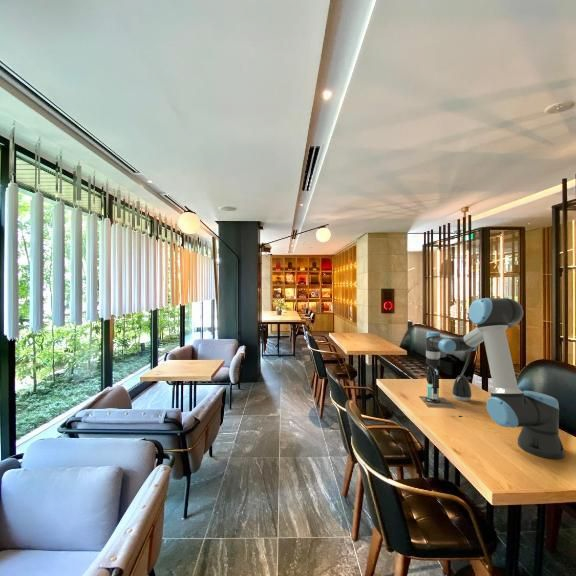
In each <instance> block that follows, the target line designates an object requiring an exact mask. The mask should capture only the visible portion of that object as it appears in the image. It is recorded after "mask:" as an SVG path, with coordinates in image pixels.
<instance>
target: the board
mask: <svg viewBox="0 0 576 576" xmlns="http://www.w3.org/2000/svg"><path fill="white" fill-rule="evenodd" d="M418 397H419V399H420V400H421V401H422V402H423V403H424V404H425V405H426V407H427V408H431V409H432V408H433V409H451V410H452V409H453V410H457V408H456V407H455V406H454V405H453V404H452V403H451V402H450V401H449V400H447V399H446V398H445V397H443V396H441V397H439V398H438V399H440V403H430V402H427V401H426V400H425V398H426V397H427V396H426V395H425V396H424V395H423V396H421V395H420V396H418Z"/></svg>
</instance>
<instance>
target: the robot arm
mask: <svg viewBox="0 0 576 576" xmlns="http://www.w3.org/2000/svg"><path fill="white" fill-rule="evenodd" d="M523 317H524V310H523V306H522V305H521V304H520V303H519V302H518V301H517V300H515V299H512V298H509V297H508V298H507V297H506V298H505V297H503V298H501V297H500V298H499V297H497V298H496V297H495V298H493V297H484V298H477V299H475V300H473V301H472V303H471V304H470V306H469V308H468V318H469V320H470V321H471V323H473V324H474V325H476V327H475V328H473V329H472V330H471V331H469V332H468V333H466V334H465V335H463V336H461V337H442V336H441V333H440V332H439V331H427V332H426V334H425V335H426V336H425V348H426V349H425V364H426V382H427V384H433V387H432V399H437V388H439V389H440V371H439V369H438V366H440V365H441V359H440V358H441V354H442V353H446V354H452V353H454V352H475V351H477V348H478V346H479V345H480V344H481V343H483V342H484V347H485V352H486V357H487V362H488V365H489V371H490V376H491V382H492V385H493V388H492V390H491V391H490V397H489V398H488V399H487V402H486V410H487V413H488V415H489V416H490V418H491V419H492V421H494V423H496V424H497V425H499V426H500V427H503V428H512V429H514V428H519V427H520V428H521V427H522V428H521V430H520V433H519V435H518V437H517V445H518V447H520V448H521V449H522V450H523V451H525V452H527V453H529V454H532V455H535V456H538V457H542V458H545V459H552V460H553V459H554V460H559V459H560V460H561V459H563V458H564V457H565V449H564V445H563V443H562V441H561V438H560V435H559V433H560V432H559V426H560V425H559V424H560V420H559V419H560V408H559V401H558V399H557V398H555V397H553V396H551V395H548V394H545V393H541V392H537V391H532V390H522V389H520V388H519V387H518V382H517V377H516V372H515V369H514V363H513V359H512V355H511V351H510V345H509V341H508V338H507V333H506V330H507V329H510V328H513V326H515V325H517V324H519V322H521V321H522V318H523ZM441 352H442V353H441Z"/></svg>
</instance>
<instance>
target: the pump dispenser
mask: <svg viewBox="0 0 576 576" xmlns="http://www.w3.org/2000/svg"><path fill="white" fill-rule="evenodd" d="M471 379H472V377H471V376H467V377H466V376H465V375H459V374H458V375H457V377H456V378H455V380H454V382H453V386H452V391H451V393H452V396H453V398H454V399H455V400H457V401H460V402H469V401H470V400H471V398H472V387H471V385H470V381H469V380H471Z"/></svg>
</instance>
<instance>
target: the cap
mask: <svg viewBox="0 0 576 576" xmlns="http://www.w3.org/2000/svg"><path fill="white" fill-rule="evenodd" d="M432 387H433V384H428V383H427V385H426V397H428V398H430V399H432ZM439 390H440V387H439V388H437V399H438V398H439V395H440V394H439V392H440V391H439Z"/></svg>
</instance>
